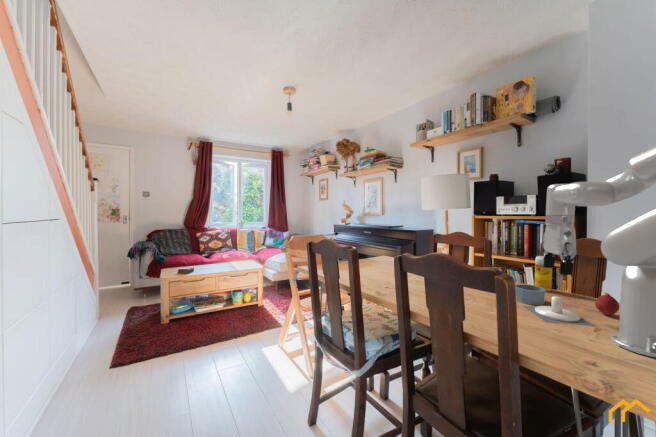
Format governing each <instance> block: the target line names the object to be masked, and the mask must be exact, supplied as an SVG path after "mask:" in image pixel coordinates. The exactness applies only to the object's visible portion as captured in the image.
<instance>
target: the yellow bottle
mask: <svg viewBox="0 0 656 437" xmlns="http://www.w3.org/2000/svg"><path fill="white" fill-rule="evenodd" d="M534 261H535V262H534V263H535V264H534V286H538V287H542V288H544V289H545V292H551V290H552V285H553V284H552V283H553V282H552V281H553V268H545V267H543V263H544V256H543V255H536V257H535V260H534Z"/></svg>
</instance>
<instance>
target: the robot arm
mask: <svg viewBox="0 0 656 437" xmlns="http://www.w3.org/2000/svg"><path fill="white" fill-rule="evenodd" d="M655 184H656V145H654V146H652V147H650V148H648V149H645V150H644V151H641V152H639V153H636V154H635V155H633V156H631V157H630V159H629V160H628V169H626V170H625V171H624V172H621V173H620V174H618V175H615V176H613V177H611V178H609V179H607V180H604V181H574V182H570V183H554V184H550V185H549V186H548V187H547V189H546V202H545V203H546V204H545V222H544V223H545V224H544V225H546V226H545V230H544V231H545V232H544V239H543V242H542V251H543V253H542V256H544V263H543V267H545V268H552V269H554V268H555V263H556V262H555V261H556V257H555V255H556V256H559V258H560V260H561V261H560V262H559V274H560V275H564V276H565V275H567V276H572V274H573V263H574V261H575V259H576V255H577V253H578V252H577V238H576V236H577V234H576V228H575V213H576V212H575V211H576V207H604V206H605V207H606V206H609V205H613V204H615V203H618V202H621V201H624V200H627V199H629V198H633V197H634V196H636V195H639V194H641V193H642V192H644V191H646V190H647V189H649V188H651V187H652V186H653V185H655ZM600 251H601V254H602V255H603V257H604V258H605V259H606V260H608V261H609V262H611V263H613V264H615V265H618V266H623V270H622V274H621V282H620V283H621V284H620V301H619V302H620V303H619V323H618V324H619V325H618V326H619V327H618V328H619V330H618V332H615V333H612V334H611V335H610V340H611V341H612V342H613V343H614V344H616V345H618V346H619V347H620V348H623V349H625V350H628V351H630V352H633V353H637V354H640V355H644V356H645V357H647V356H648V357H651V358H656V208H654V209H651V210H649V211H647V212H645V213H643V214H641V215H639V216H638V217H635V218H633V219H632V220H630V221H628V222H626V223H624V224H622V225H620V226H618V227H617V228H615V229H613V230H611V231H610V232H608V233H607V234H606V235H605V236H604V237H603V239H602V241H601V243H600Z"/></svg>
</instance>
